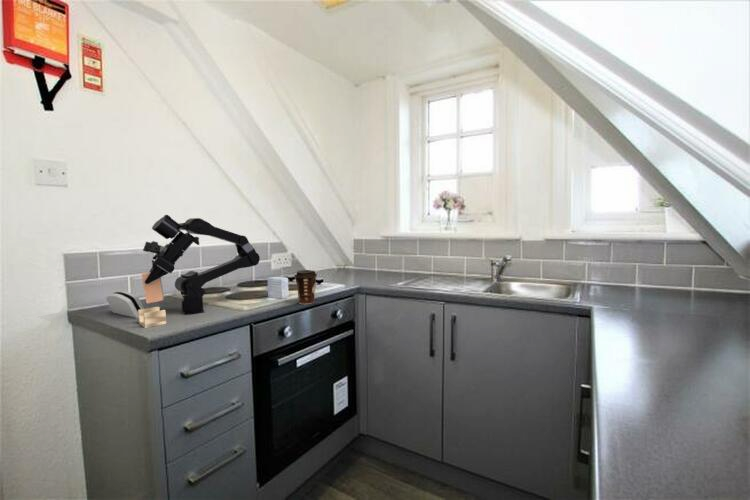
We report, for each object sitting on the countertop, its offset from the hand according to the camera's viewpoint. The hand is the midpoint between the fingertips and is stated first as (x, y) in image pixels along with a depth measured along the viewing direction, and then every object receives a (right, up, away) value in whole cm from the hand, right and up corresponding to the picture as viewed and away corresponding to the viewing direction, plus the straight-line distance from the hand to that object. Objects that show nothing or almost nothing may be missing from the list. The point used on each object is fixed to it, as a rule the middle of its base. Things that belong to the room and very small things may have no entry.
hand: (145, 282), depth 124 cm
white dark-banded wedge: (-11, -13, +7) cm, 18 cm away
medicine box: (+37, -10, +32) cm, 50 cm away
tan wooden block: (+6, -13, -5) cm, 15 cm away
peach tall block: (+2, -7, +2) cm, 7 cm away
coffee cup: (+52, -10, +22) cm, 57 cm away
